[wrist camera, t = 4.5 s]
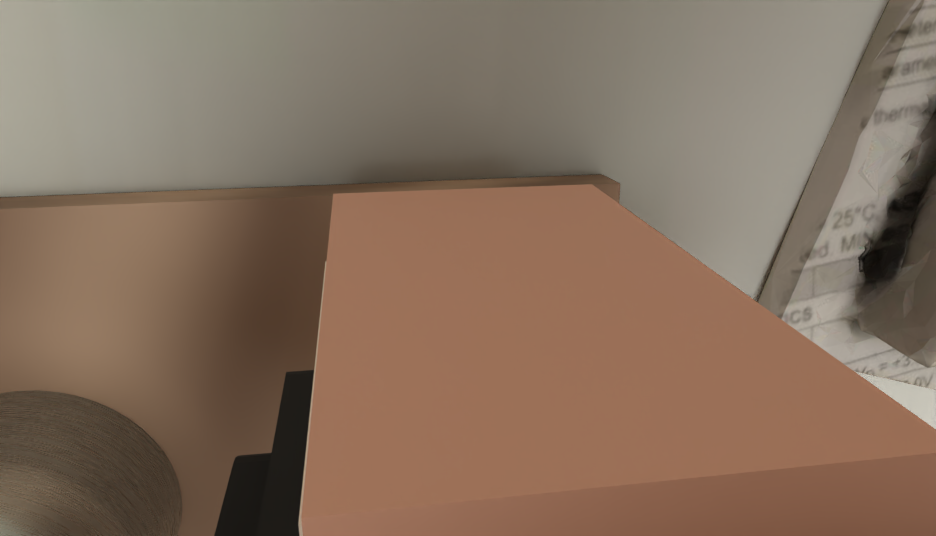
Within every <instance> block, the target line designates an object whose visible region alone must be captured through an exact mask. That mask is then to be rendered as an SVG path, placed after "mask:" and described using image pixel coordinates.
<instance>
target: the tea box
mask: <svg viewBox="0 0 936 536" xmlns="http://www.w3.org/2000/svg"><path fill="white" fill-rule="evenodd" d="M298 526H299V536H936V429H934V428H933V427H931V426H930V425H929V424H927V423H926V422H924V421H923V420H922V419H920V418H919V417H917V416H916V415H915V414H913V413H912V412H910V411H909V410H908V409H906V408H905V407H903V406H902V405H900V404H899V403H898V402H896V401H895V400H893V399H892V398H891V397H889V396H888V395H886V394H885V393H884V392H882V391H881V390H879V389H878V388H877V387H875V386H874V385H872V384H871V383H870V382H868V381H867V380H865V379H864V378H863V377H861V376H860V375H858V374H857V373H856V372H854V371H853V370H851V369H850V368H849V367H847V366H846V365H844V364H843V363H842V362H840V361H839V360H837V359H836V358H835V357H833V356H832V355H830V354H829V353H828V352H826V351H825V350H823V349H822V348H821V347H819V346H818V345H816V344H815V343H814V342H812V341H811V340H809V339H808V338H807V337H805V336H804V335H802V334H801V333H800V332H798V331H797V330H795V329H794V328H793V327H791V326H790V325H788V324H787V323H786V322H784V321H783V320H781V319H780V318H779V317H777V316H776V315H774V314H773V313H772V312H770V311H769V310H767V309H766V308H765V307H763V306H762V305H760V304H759V303H758V302H756V301H755V300H753V299H752V298H751V297H749V296H748V295H746V294H745V293H744V292H742V291H741V290H739V289H738V288H737V287H735V286H734V285H732V284H731V283H730V282H728V281H727V280H725V279H724V278H723V277H721V276H720V275H718V274H717V273H716V272H714V271H713V270H711V269H710V268H709V267H707V266H706V265H704V264H703V263H702V262H700V261H699V260H697V259H696V258H695V257H693V256H692V255H690V254H689V253H687V252H686V251H685V250H683V249H682V248H680V247H679V246H678V245H676V244H675V243H673V242H672V241H671V240H669V239H668V238H666V237H665V236H664V235H662V234H661V233H659V232H658V231H657V230H655V229H654V228H652V227H651V226H650V225H648V224H647V223H645V222H644V221H643V220H641V219H640V218H638V217H637V216H636V215H634V214H633V213H631V212H630V211H629V210H627V209H626V208H624V207H623V206H622V205H620V204H619V203H617V202H616V201H615V200H613V199H612V198H610V197H609V196H608V195H606V194H605V193H603V192H602V191H601V190H599V189H598V188H596V187H595V186H594V185H592V184H584V185H556V186H529V187H502V188H474V189H447V190H420V191H393V192H365V193H338V194H333V201H332V211H331V221H330V231H329V241H328V251H327V261H325V270H324V280H323V290H322V299H321V309H320V319H319V328H318V338H317V348H316V358H315V367H314V377H313V387H312V396H311V406H310V416H309V425H308V435H307V445H306V454H305V464H304V474H303V484H302V493H301V503H300V513H299V522H298Z"/></svg>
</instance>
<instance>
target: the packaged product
mask: <svg viewBox="0 0 936 536" xmlns="http://www.w3.org/2000/svg"><path fill="white" fill-rule="evenodd" d="M758 303H759V304H760V305H762V306H763V307H765V308H766V309H767V310H769V311H770V312H772V313H773V314H774V315H776V316H777V317H779V318H780V319H781V320H783V321H784V322H786V323H787V324H788V325H790V326H791V327H793V328H794V329H795V330H797V331H798V332H800V333H801V334H802V335H804V336H805V337H807V338H808V339H809V340H811V341H812V342H814V343H815V344H816V345H818V346H819V347H821V348H822V349H823V350H825V351H826V352H828V353H829V354H830V355H832V356H833V357H835V358H836V359H837V360H839V361H840V362H842V363H843V364H844V365H846V366H847V367H849V368H850V369H851V370H853V371H856V372H860V373H864V374H869V375H873V376H878V377H883V378H887V379H892V380H896V381H900V382H904V383H908V384H913V385H917V386H921V387H925V388H930V389H934V390H936V0H889V2H888V4H887V6H886V8H885V10H884V12H883V14H882V16H881V18H880V21H879V23H878V25H877V27H876V29H875V31H874V33H873V35H872V38H871V40H870V42H869V44H868V46H867V49H866V51H865V53H864V55H863V58H862V60H861V62H860V64H859V66H858V69H857V71H856V73H855V75H854V78H853V80H852V82H851V84H850V87H849V89H848V91H847V93H846V95H845V98H844V100H843V102H842V105H841V107H840V110H839V112H838V114H837V117H836V119H835V121H834V123H833V125H832V128H831V130H830V132H829V134H828V136H827V138H826V141H825V143H824V145H823V147H822V149H821V151H820V154H819V156H818V159H817V161H816V163H815V166H814V168H813V171H812V173H811V175H810V178H809V180H808V183H807V185H806V187H805V190H804V192H803V195H802V197H801V199H800V202H799V204H798V207H797V209H796V211H795V214H794V216H793V219H792V221H791V223H790V226H789V228H788V231H787V233H786V235H785V238H784V240H783V242H782V245H781V247H780V250H779V252H778V254H777V257H776V259H775V262H774V264H773V266H772V269H771V271H770V274H769V276H768V278H767V281H766V283H765V286H764V288H763V290H762V293H761V295H760V298H759V300H758Z"/></svg>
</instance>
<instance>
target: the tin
mask: <svg viewBox="0 0 936 536" xmlns="http://www.w3.org/2000/svg"><path fill="white" fill-rule="evenodd" d="M181 516H182V496H181V491H180V486H179V482H178V479H177V476H176V474H175V471H174V469H173V466H172V465H171V463H170V461H169V459H168V458H167V456H166V454H165V453H164V451H163V450H162V449H161V448H160V446H159V445H158V444H157V443H156V441H155V440H154V439H153V438H152V437H151V436H150V435H149V434H148V433H147V432H146V431H144V430H143V429H142V428H141V427H140V426H138V425H137V424H136V423H134V422H133V421H132V420H130V419H129V418H127V417H126V416H124V415H122V414H120V413H119V412H117V411H115V410H114V409H111V408H109V407H107V406H105V405H102V404H100V403H98V402H95V401H92V400H89V399H86V398H82V397H79V396H75V395H70V394H65V393H60V392H51V391H39V390H36V391H14V392H6V393H0V536H177V535H178V532H179V528H180V524H181Z"/></svg>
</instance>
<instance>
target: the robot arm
mask: <svg viewBox="0 0 936 536" xmlns="http://www.w3.org/2000/svg"><path fill="white" fill-rule="evenodd" d="M313 377H314V370H306V371H292V372H286V375H285V381H284V386H283V392H282V397H281V403H280V408H279V414H278V419H277V425H276V430H275V436H274V441H273V447H272V452H271V453H262V454H251V455H240V456H237V457H235V460H234V462H233V466H232V470H231V473H230V477H229V481H228V485H227V489H226V492H225V496H224V500H223V504H222V508H221V512H220V515H219V519H218V523H217V527H216V531H215V534H214V536H299V526H298V522H299V513H300V503H301V493H302V484H303V474H304V464H305V454H306V445H307V435H308V425H309V416H310V406H311V396H312V387H313Z"/></svg>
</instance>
